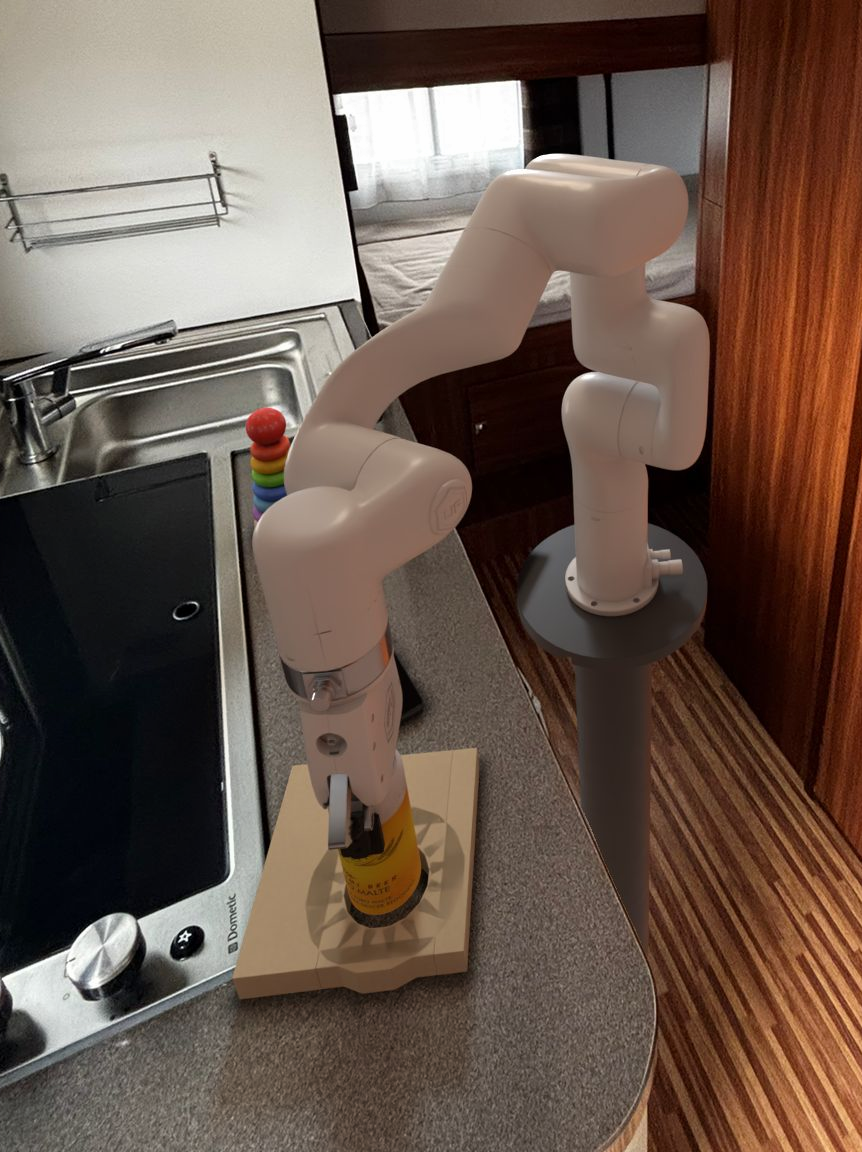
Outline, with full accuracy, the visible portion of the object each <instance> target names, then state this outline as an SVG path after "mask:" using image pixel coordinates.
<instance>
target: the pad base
mask: <svg viewBox="0 0 862 1152" xmlns="http://www.w3.org/2000/svg"><path fill="white" fill-rule="evenodd" d="M400 755H401V758H402V761H403V766H404V772H405V778H406V783H407V789H408V794H409V800H410V805H411V811H412V817H413V822H414V828H415V833H416V839H417V844H418V850H419V855H420V861H421V870H423V871H424V872H425V873H426V874H427V876H428V877H427V886H426V888H425V890H424V892H423V894H422V896H421V898H420V901H419V902H418V904H417V905H416V906H415V907H414V908H413V909H412V910H411V911H410V912H409V913H408V914H407V915H406V916H405V917H403V918H402V919H400V920H398V921H396V922H394V923H392V924H391V925H387V926H378V927H369V926H366V925H363V924H361V923H358V922H357V921H356V920H355V919H354V917H353V916H352V915H351V914H350V912H351V906H352V902H351V900H350V897H349V893H348V889H347V885H346V881H345V877H344V873H343V869H342V865H341V861H340V857H339V853H338V849H333V850H329V849H328V829H329V812H328V808H327V809H326V810H325V809H323V808H322V807H321V806H320V805H319V803H318V801H317V799H316V797H315V794H314V790H313V787H312V783H311V779H310V774H309V770H308V764H307V763H306V764H305V763H304V764H296V765H292V767H291V770H290V774H289V777H288V781H287V784H286V787H285V792H284V795H283V799H282V801H281V804H280V808H279V811H278V816H277V819H276V822H275V826H274V829H273V833H272V836H271V840H270V844H269V848H268V850H267V854H266V858H265V862H264V865H263V869H262V873H261V876H260V879H259V882H258V886H257V890H256V893H255V896H254V900H253V903H252V907H251V911H250V913H249V918H248V920H247V925H246V928H245V932H244V936H243V939H242V942H241V947H240V949H239V950H240V951H239V953H238V956H237V960H236V964H235V966H234V971H233V974H232V977H231V980H232V982H233V985H234V988H235V990H236V993H237V996H238V998H239V1000H245V999H246V1000H247V999H255V998H263V997H271V996H272V997H273V996H280V995H286V994H287V995H288V994H297V993H303V992H311V991H320V990H326V989H327V990H328V989H334V988H335V989H336V988H347V989H348V990H351V991H354V992H357V993H359V994H362V995H364V994H371V993H378V992H379V993H380V992H387V991H394V990H398V989H399V988H401V987H402V986H404V985H406V984H408V983H409V982H411V981H413V980H415V979H418V978H424V977H433V976H442V975H451V974H458V973H466V972H468V961H469V945H470V930H471V915H472V914H471V913H472V897H473V882H474V881H473V878H474V866H475V865H474V864H475V850H476V849H475V848H476V847H475V846H476V833H477V832H476V830H477V815H478V814H477V813H478V800H479V799H478V798H479V781H480V759H479V752H478V747H471V748H460V749H459V748H458V749H452V750H440V751H430V752H419V753H410V754H400Z"/></svg>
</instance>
